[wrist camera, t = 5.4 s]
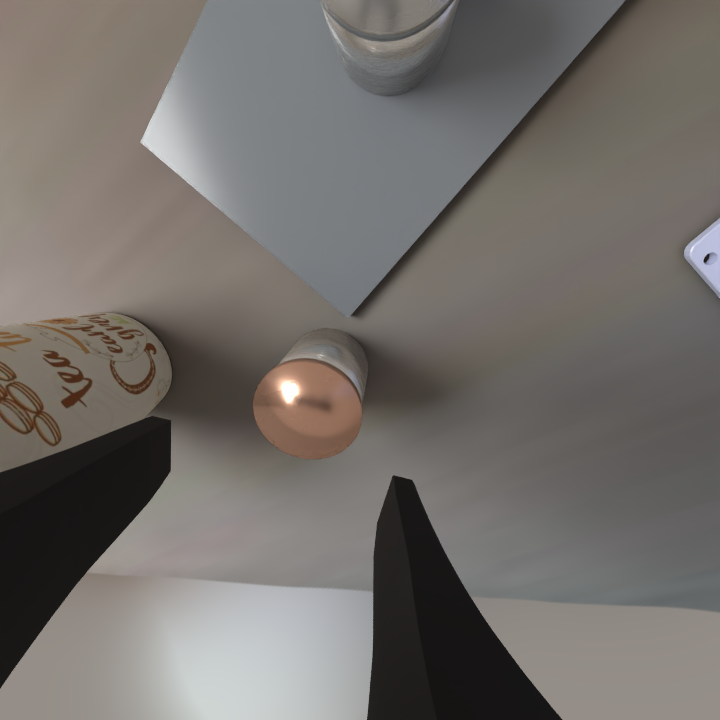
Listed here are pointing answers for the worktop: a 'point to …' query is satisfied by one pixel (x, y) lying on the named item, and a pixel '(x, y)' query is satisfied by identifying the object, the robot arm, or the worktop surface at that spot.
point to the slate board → (351, 127)
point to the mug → (75, 382)
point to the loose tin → (314, 396)
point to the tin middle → (389, 40)
